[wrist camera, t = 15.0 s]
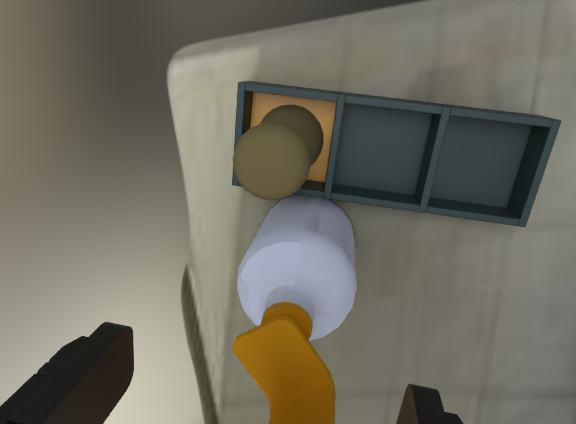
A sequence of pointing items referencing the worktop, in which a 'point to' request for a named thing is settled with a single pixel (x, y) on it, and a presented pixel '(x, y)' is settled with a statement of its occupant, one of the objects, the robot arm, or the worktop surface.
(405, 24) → the worktop surface
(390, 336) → the worktop surface
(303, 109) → the cork
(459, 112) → the tray
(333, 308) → the soap bottle
